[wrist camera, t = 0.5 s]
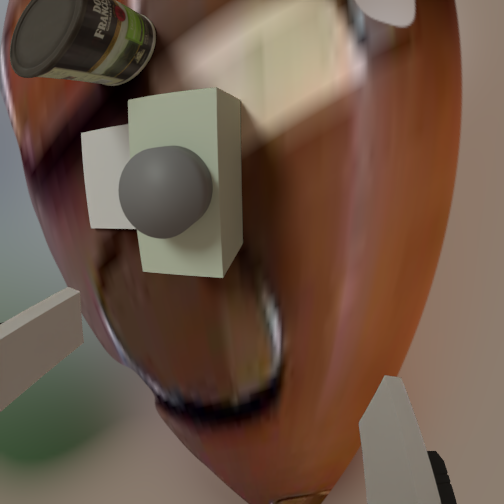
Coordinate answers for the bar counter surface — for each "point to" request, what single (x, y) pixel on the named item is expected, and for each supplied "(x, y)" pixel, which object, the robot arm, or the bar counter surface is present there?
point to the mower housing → (171, 180)
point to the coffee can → (81, 41)
